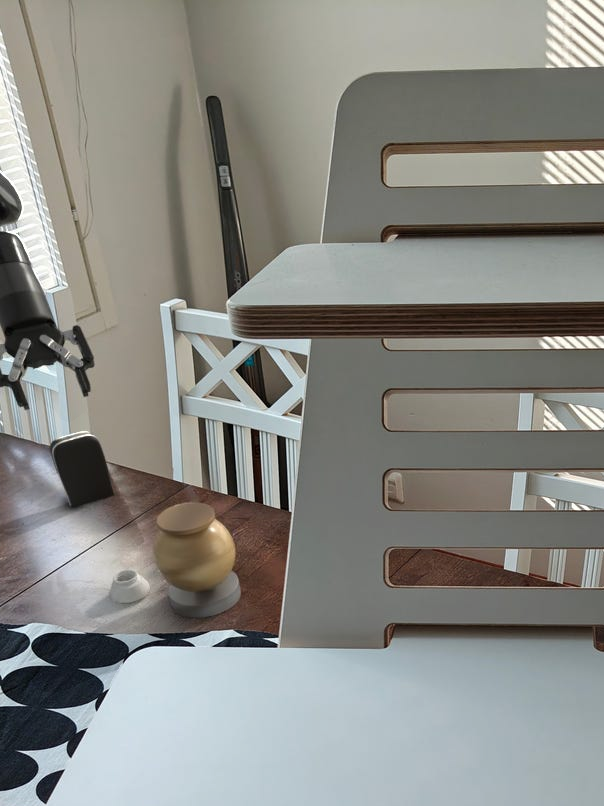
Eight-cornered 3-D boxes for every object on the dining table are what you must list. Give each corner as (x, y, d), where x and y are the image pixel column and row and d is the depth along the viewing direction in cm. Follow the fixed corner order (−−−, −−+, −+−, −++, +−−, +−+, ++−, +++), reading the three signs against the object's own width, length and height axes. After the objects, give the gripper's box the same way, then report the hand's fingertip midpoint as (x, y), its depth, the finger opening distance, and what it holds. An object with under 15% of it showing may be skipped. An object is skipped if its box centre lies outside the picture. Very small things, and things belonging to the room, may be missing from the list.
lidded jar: (163, 624, 124) (139, 541, 116) (171, 581, 131) (148, 500, 124) (243, 615, 125) (224, 532, 117) (246, 572, 132) (228, 492, 125)
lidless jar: (108, 590, 130) (115, 609, 127) (102, 572, 128) (109, 590, 125) (145, 579, 132) (154, 598, 128) (140, 561, 130) (148, 579, 127)
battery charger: (111, 493, 152) (91, 425, 145) (119, 502, 149) (99, 433, 142) (66, 507, 149) (43, 438, 142) (73, 517, 146) (50, 447, 139)
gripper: (-35, 298, 140) (2, 401, 139) (67, 280, 146) (104, 379, 144) (-27, 324, 147) (9, 422, 146) (70, 305, 153) (106, 400, 151)
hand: (56, 401), depth 145 cm, fingers open, 8 cm apart
